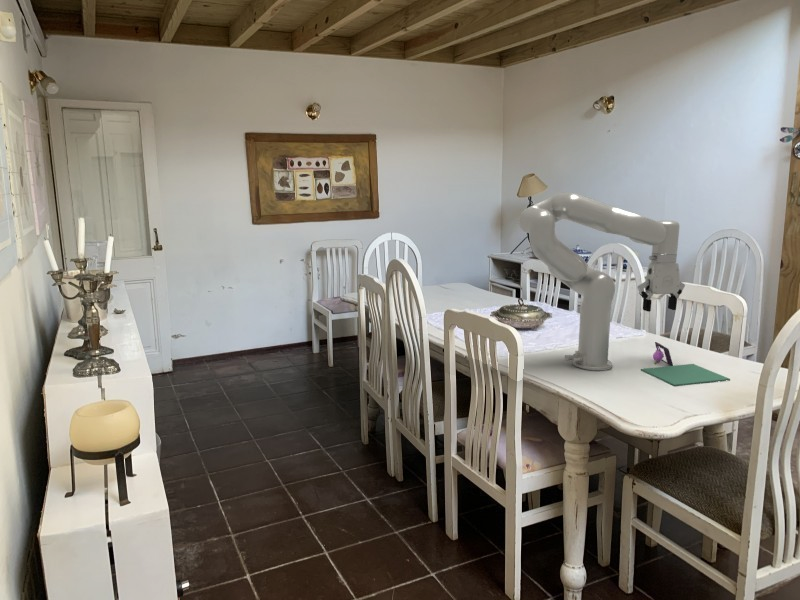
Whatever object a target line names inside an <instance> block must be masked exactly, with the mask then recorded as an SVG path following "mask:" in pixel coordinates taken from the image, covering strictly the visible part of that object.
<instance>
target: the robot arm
mask: <svg viewBox="0 0 800 600" xmlns="http://www.w3.org/2000/svg"><path fill="white" fill-rule="evenodd" d="M563 219H564V220H566V221H567V220H568V221H569V222H570V221H571V222H573V223H575V224H579V225H581V226H585V227H588V228H591V229H594V230H595V231H599V232H602V233H606V234H612V235H617V236H622V237H626V238H628V239H630V240H631V241H632V242H634V243H637V244H641V245H647V246H652V248H651V249H652V250H651V255H649V257H648V259H649V260H650V262H649V263H648V267H647V271H646V274H645V275H646V277H645V281H644V282H642V283H641V284H639V285H637V290H638V294H639V295H640V296H641V298H642V299H643V302H642V310H643V311H645V312H648V313H649V312H651V310H652V297H653V296H654V295H669V296H668V303H667V309H668V310H669V309H670V310H672V311H676V310H677V304H678V303H677V301H678V299H679V298H680V295H681V294H682V293H683V291H684V289H685V286H686V284H684V283H683V282H681V281H680V268H679V267H680V266H679V263H678V262H677V257H678V256H677V255H678V246H679V236H680V223H679V222H678V221H675V220H655V219H653V218H652V219H651V218H649V217H646V216H643V215H641V214H640V215H639V214H637V213H633V212H630V211H628V210H624V209H622V208H619V207H617V206H612V205H610V204H607V203H605V202H601V201H598V200H596V199H592V198H590V197H587V196H584V195H582V194H579V193H575V192H560V193H557V194H555V195H552V196H551V197H548V198H546V199H544V200H542V201H540V202H537V203H535V204H533V205H531V206H529V207H526V208H525V209H524V210H522V212H521V213H520V215H519V219H518V224H519V227H520V229H521V231H523V232H525V233H527V234H529V239H528V240H529V246H530V249H531V251H532V253H533V255H534V256H535V257H536V258H537V259H538V260H540V262H542V263H544V265H546V266H547V268H548V271H549V273H550V274H551V275H552V276H553V277H554V278H556V279H558V281H560V282H561V283H563V284H564V285H565V286H567V287H568V288H569V289H570V290H572V291H574V292H575V293H577V294H578V295H580V296H583V299H582V302H581V306H580V311H579V327H578V328H579V331H578V347H577V349H578V350H575V351H574V353H572V354H565V355H564V360H565V362H567V361H569V362H570V361H572V365H573V366H575V367H576V368H579V369H582V370H587V371H606V370H611V368H613V362H612V361H611V360H609V347H610V328H611V316H612V315H611V313H612V306H613V305H612V304H613V301H614V296H615V294H616V293H615V291H616V285H615V281H614V279H613V278H612V277H611V276H610V275H609V274H608V273H606V272H603V271H601V270H597V269H595V268H592V267H590V266H588V265H587V262H586V260H585V259H584V258H583V256H581V255H580V254H578V253H576V252H575V251H573V250H572V249H571V248H569V247H568V246H567V245H566V244H564V243H563V242H562V241H560V239H558V238H557V235H556V223H557V222H560V221H561V220H563Z"/></svg>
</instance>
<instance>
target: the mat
mask: <svg viewBox="0 0 800 600" xmlns="http://www.w3.org/2000/svg"><path fill="white" fill-rule="evenodd" d="M640 371H641V372H643V373H645V374H648V375H650V376H652V377H654V378H655V379H658V380H660V381H662V382H663V383H664V382H665V383H667V384H669V385H670V386H673V387H682V386H690V385H691V386H692V385H701V384H710V382H711V383H719V382H718V381H720V382H727V381H726V380H729V381H731V378H729V377H727V376H724V375H722V374H719V373H717V372H714V371H711V370H709V369H707V368H705V367H702V366H700V365H697V364H695V363H688V364H679V365H678V364H675V365H673V366H670V365H667V366H657V367H647V368H646V367H645V368H640ZM700 383H701V384H700Z"/></svg>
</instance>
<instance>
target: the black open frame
mask: <svg viewBox="0 0 800 600" xmlns="http://www.w3.org/2000/svg"><path fill="white" fill-rule="evenodd" d="M654 344H655V347H656V348H655V349H656V350H655V352H654V353H653V355H652V358H653V361H654V363H653V364H654V365H656V364H657V363H660V362H664V363H665V364H666V365H667V366H674V365H673V364H674V363H673V359H672V356H671V353H670V349H669V348H668V347H666V346H664V345H662V344H661V343H659V342H656V341H655V342H654ZM661 349H662V350H663V351H662V350H661ZM664 357H665V360H666V361H665V360H664Z"/></svg>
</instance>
